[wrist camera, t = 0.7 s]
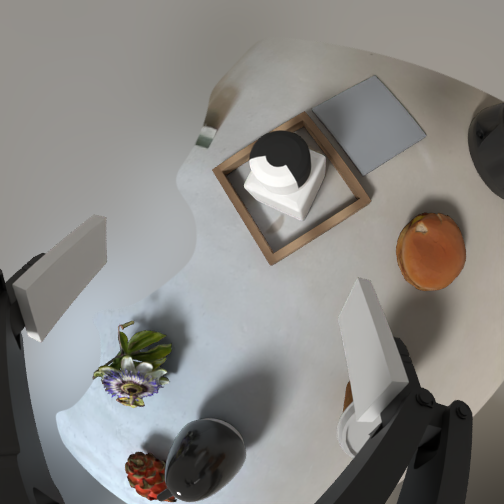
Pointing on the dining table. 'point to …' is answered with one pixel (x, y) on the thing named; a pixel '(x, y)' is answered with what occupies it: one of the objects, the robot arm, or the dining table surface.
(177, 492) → the grey egg-shaped container
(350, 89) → the slate mat
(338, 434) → the disposable coffee cup
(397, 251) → the burger
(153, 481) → the dragon fruit
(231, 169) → the walnut caddy
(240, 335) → the dining table surface
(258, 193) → the medicine bottle
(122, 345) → the passion flower
